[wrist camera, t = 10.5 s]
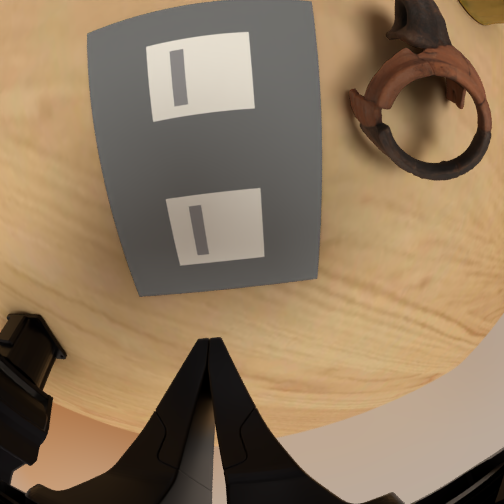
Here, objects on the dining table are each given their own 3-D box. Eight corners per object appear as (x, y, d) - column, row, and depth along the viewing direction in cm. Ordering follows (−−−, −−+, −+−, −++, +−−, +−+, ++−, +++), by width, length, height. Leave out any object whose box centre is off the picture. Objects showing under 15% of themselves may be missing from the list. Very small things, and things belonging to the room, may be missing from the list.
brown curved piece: (459, 128, 16) (499, 190, 11) (359, 134, 20) (367, 197, 15) (438, -8, 7) (496, -3, 3) (314, -1, 12) (307, -6, 7)
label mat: (316, 277, 21) (317, 279, 21) (140, 295, 20) (139, 296, 20) (310, 2, 11) (311, 1, 10) (88, 34, 10) (87, 33, 10)
